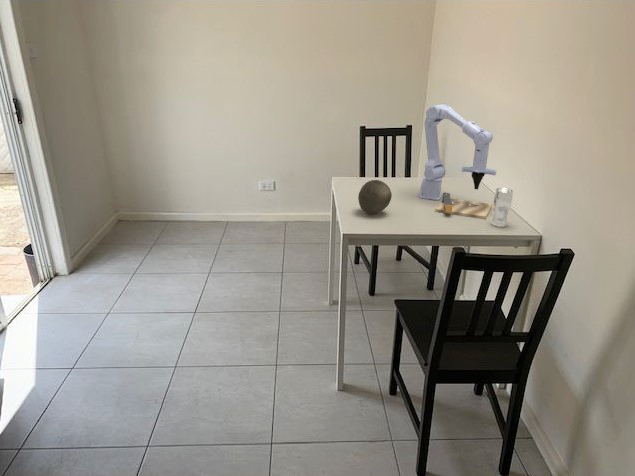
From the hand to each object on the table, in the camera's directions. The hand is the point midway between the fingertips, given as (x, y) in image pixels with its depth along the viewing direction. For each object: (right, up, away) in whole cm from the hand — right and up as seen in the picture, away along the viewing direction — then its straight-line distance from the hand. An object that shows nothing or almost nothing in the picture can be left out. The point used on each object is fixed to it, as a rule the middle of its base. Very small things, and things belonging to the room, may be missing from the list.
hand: (476, 188), depth 212 cm
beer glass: (+4, -17, -15) cm, 23 cm away
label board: (-5, -9, +3) cm, 11 cm away
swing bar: (-13, -7, +1) cm, 15 cm away
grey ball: (-47, -11, -2) cm, 48 cm away
